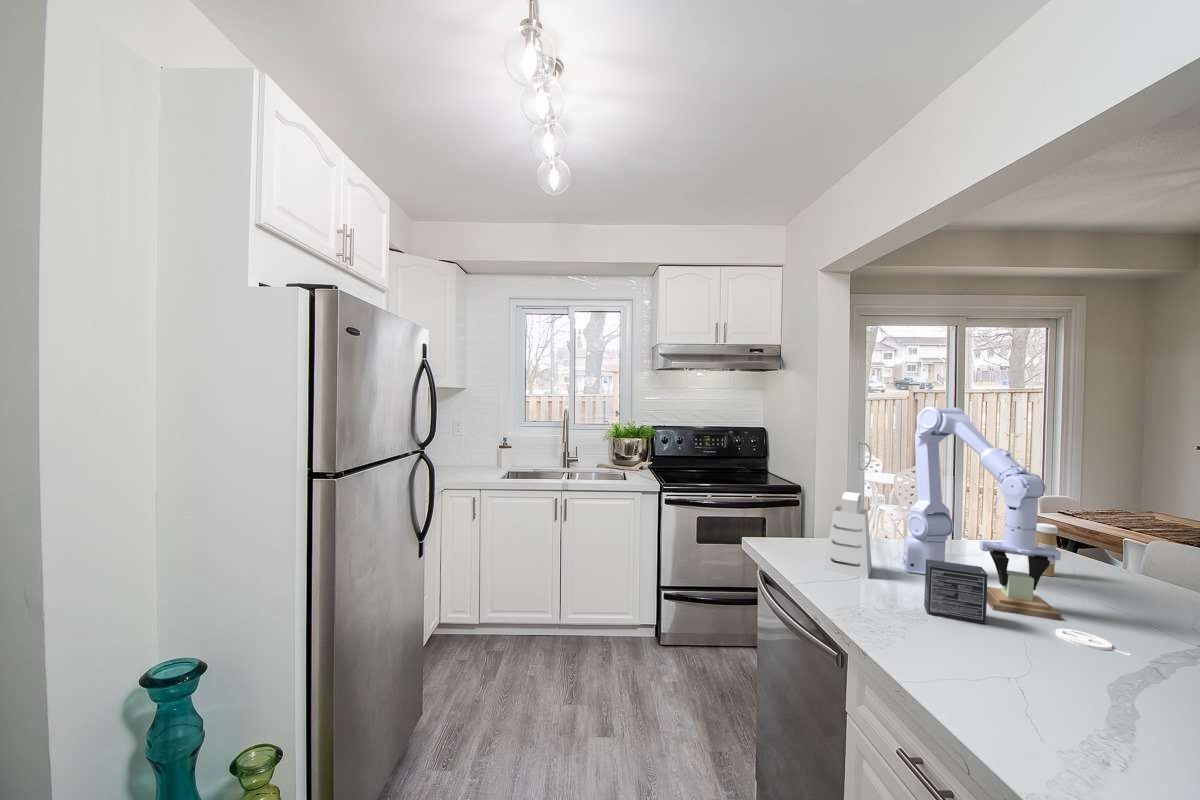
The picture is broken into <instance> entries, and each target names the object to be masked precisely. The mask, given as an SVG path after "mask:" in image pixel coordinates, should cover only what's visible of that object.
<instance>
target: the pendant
mask: <svg viewBox="0 0 1200 800" xmlns="http://www.w3.org/2000/svg"><path fill="white" fill-rule="evenodd" d="M1054 634H1055V635H1056V636H1057V637H1058V638H1059V639H1062V640H1064V641H1066V642H1068V643H1071V644H1074V645H1077V646H1080V647H1083V648H1088V649H1092V650H1098V651H1111V650H1112V651H1115V652H1117V653H1121V654H1124V655H1127V656H1129V657H1130V656H1132V654H1131V653H1129V652H1125V651H1120V650H1118V649H1114V648H1113V645H1112V643H1111V642H1110V641H1108V640H1107V639H1104V638H1102V637H1100V636H1097V635H1094V634H1092V633H1088V632H1083V631H1080V630H1075V629H1069V628H1057V629H1055V633H1054Z"/></svg>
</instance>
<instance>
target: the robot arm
mask: <svg viewBox="0 0 1200 800" xmlns="http://www.w3.org/2000/svg"><path fill="white" fill-rule="evenodd" d="M970 418H971V417H970V416H969V415H968V414H966V413H965V412H964V411H963V409H962V408H961V409H960V407H935V406H926V407H924V408H923V409H922V410H920V412H919V413H918V414H917V415H916V431H915V434H914V448H915V451H914V453H915V463H916V464H915V468H916V469H915V471H916V486H917V488H916V491H917V501H916V502H915V503H914V504H913V505H912V506H911V508H909V518H908V519H907V528H908V530H909V532H910V533H911V535H905V537H904V540H903V541H904V542H903V553H902V554H903V555H902V565H903V568H904V569H905V570H906V572H908V573H912V574H917V575H918V574H919V575H925V571H926V559H929V560H936V561H943V562H946V561H945V560H946V544H947V541H948V539H949V536H950V535H952V533H953V532H954V528H955V527H954V522H953V519H952V517H951V514H950V508H948V506H946V505H945V504H944V503H943V498H942V497H943V496H942V479H941V463H940V462H941V459H940V445H939V444H940V443H941V442H942V441H943V440H944V439H945V438H947V437H950V436H951V435H955V436H957V437H958V438H959V439H960V440H962V442H963V443H965V444H966V446H969V447H970V448H971V450H973V451H974V452H976V454H977V455H979V456H980V465H982V467H983V468H984V469H985V470H986V471H987V472H988V473H989V474H990V475H991V476H992V477H994V479H995V480H996V481H997V482H998V483H999V490H1000V492H1001V494H1002V495H1003V498H1004V501H1003V502H1004V504H1005V512H1004V530H1003V531H1004V533H1003V541H985V540H980V541H979V550H981V551H982V552H985V553H986V552H988V553H989V554H990V557H991V558H992V561H993V563H994V565H995V568H996V571H997V576H998V581H999V584H1000V585H1001V587H1002V586H1006V583H1007V570H1008V566H1009V562H1010V559H1009V557H1007V554H1010V555H1018V556H1026V557H1027V559H1028V575H1030V576H1031V577H1032V578H1033V579H1034V589H1033V591H1036V589H1037V586H1038V584H1039V582H1040V580H1041V577H1042V576H1043V575H1042V574H1043V572H1044V571H1045V570H1046V569H1047V568H1048V567H1049V565H1050V561H1049V560H1048V558H1049V559H1054V560H1055V561H1061V556H1062V555H1061V554H1062V553H1061V551H1060V550H1058V549H1056V550H1055V549H1048V548H1042V547H1036V530H1037V523H1038V511H1039V510H1038V508H1039V499H1040V498H1042V496H1044V494H1045V493H1046V485H1045V481H1044V480H1043V479H1042V478H1041V476H1040V475H1039V474H1036V473H1033V472H1029V471H1027V468H1025V466H1021V464H1020V463H1018V462H1017V460H1015V459H1014V458H1013V457H1012V453H1011V452H1010V451H1009V450H1005V449H1004V448H997V447H996V448H995V446H993V445H992V444H991V442H989V440H988V439H987V438H986V437H985V436H984V435H983V434H982V432H980V430H979V429H977V427H976V426H975V425H974V424H973V423H972V422H971V419H970Z"/></svg>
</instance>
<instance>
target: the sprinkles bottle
mask: <svg viewBox="0 0 1200 800" xmlns="http://www.w3.org/2000/svg"><path fill="white" fill-rule="evenodd" d="M1058 531H1059V530H1058V526H1056V524H1055V525H1054V524H1051V523H1044V522H1043V523H1042V522H1037V530H1036V547H1042V548H1048V549H1055V550H1057V535H1058ZM1048 560H1049V561H1050V565H1049V567H1048V568H1047V569H1046V570H1045V571H1044V572H1043V574H1042V575H1041V576H1046V577H1054V576H1055V574H1056V573H1055V569H1056V568H1055V565H1056V560H1054V559H1049V558H1048Z"/></svg>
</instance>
